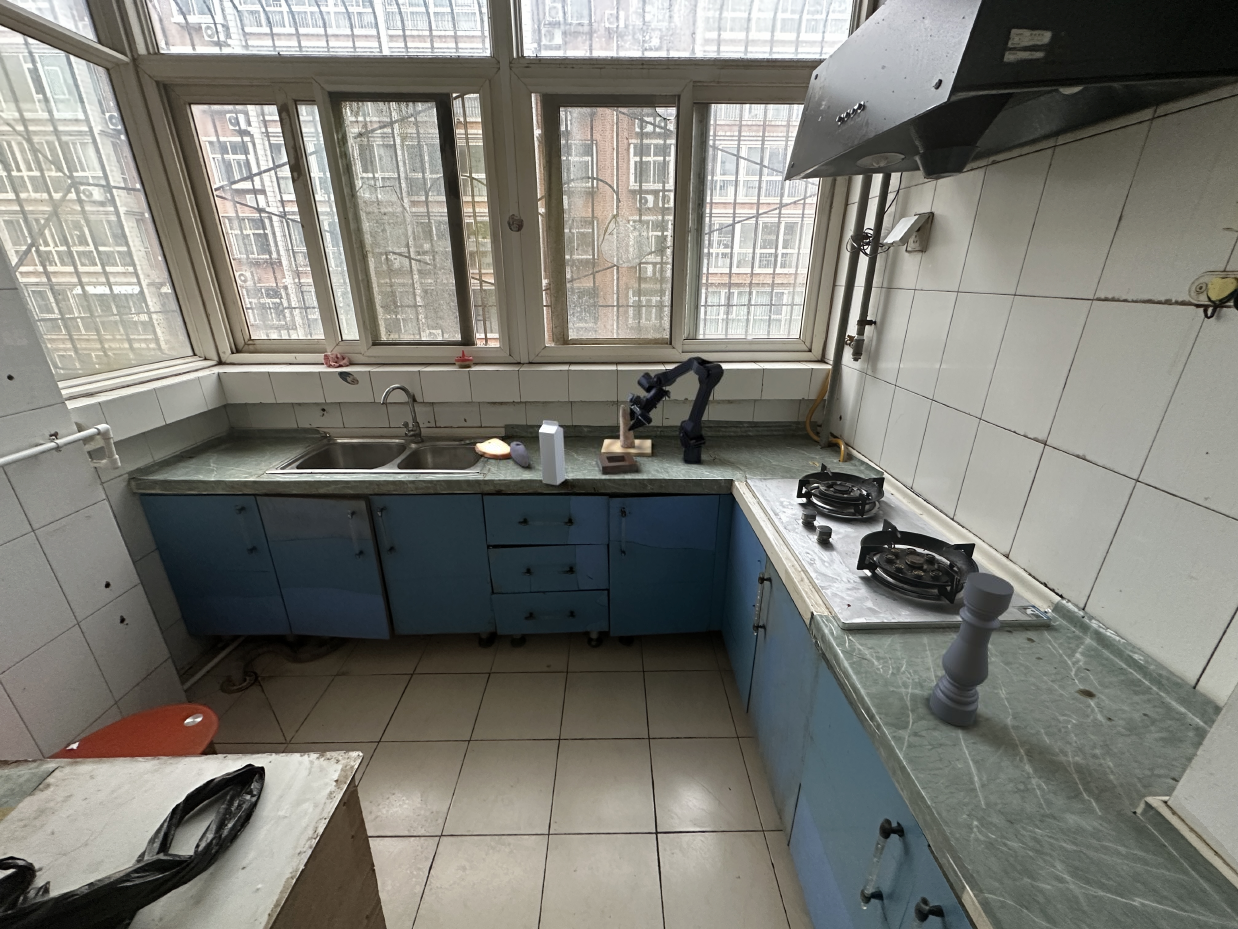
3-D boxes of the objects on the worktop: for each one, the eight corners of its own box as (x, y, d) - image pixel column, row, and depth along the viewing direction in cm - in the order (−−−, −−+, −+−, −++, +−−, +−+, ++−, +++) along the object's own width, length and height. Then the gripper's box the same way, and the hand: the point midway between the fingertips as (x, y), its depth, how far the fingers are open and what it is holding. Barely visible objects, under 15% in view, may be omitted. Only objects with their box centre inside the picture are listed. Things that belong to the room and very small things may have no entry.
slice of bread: (512, 459, 196) (511, 450, 195) (467, 459, 197) (466, 450, 195) (521, 444, 213) (521, 436, 212) (480, 444, 214) (479, 436, 212)
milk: (551, 477, 179) (547, 417, 171) (566, 479, 177) (562, 419, 169) (542, 483, 174) (537, 422, 166) (557, 485, 171) (553, 424, 164)
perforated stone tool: (533, 468, 187) (532, 451, 184) (520, 470, 185) (518, 453, 182) (522, 456, 199) (521, 439, 197) (509, 458, 197) (508, 441, 195)
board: (651, 443, 213) (651, 439, 213) (651, 455, 198) (651, 452, 198) (604, 442, 214) (604, 439, 214) (601, 455, 199) (601, 451, 199)
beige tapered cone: (621, 445, 208) (620, 450, 203) (613, 404, 201) (612, 408, 196) (635, 443, 207) (635, 448, 202) (629, 402, 201) (628, 406, 195)
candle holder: (956, 695, 85) (995, 570, 76) (982, 726, 80) (1027, 595, 71) (921, 696, 85) (955, 571, 76) (944, 727, 79) (984, 596, 70)
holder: (630, 459, 195) (630, 452, 194) (636, 471, 183) (637, 463, 182) (597, 461, 193) (597, 454, 192) (602, 474, 181) (601, 466, 180)
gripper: (634, 381, 205) (608, 408, 207) (644, 391, 188) (616, 420, 190) (652, 398, 209) (626, 425, 211) (664, 410, 192) (636, 439, 194)
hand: (626, 427), depth 202 cm, fingers open, 9 cm apart
